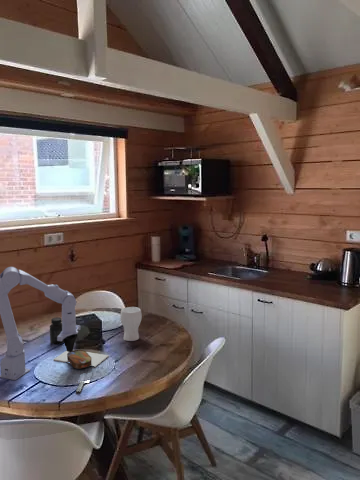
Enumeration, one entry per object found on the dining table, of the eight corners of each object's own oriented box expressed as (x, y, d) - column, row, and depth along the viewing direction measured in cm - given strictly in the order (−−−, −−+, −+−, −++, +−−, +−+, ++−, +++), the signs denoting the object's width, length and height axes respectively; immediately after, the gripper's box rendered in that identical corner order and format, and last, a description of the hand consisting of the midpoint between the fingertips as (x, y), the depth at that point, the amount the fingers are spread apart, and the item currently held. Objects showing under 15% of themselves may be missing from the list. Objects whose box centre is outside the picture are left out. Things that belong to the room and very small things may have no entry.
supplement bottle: (67, 340, 210) (66, 317, 208) (59, 345, 203) (58, 321, 201) (55, 338, 211) (54, 315, 210) (47, 344, 205) (46, 320, 203)
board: (95, 367, 180) (95, 366, 180) (53, 360, 186) (53, 359, 186) (108, 356, 191) (108, 355, 191) (69, 350, 198) (68, 349, 198)
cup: (143, 334, 218) (143, 306, 215) (139, 342, 207) (139, 313, 205) (123, 334, 219) (123, 306, 216) (118, 341, 208) (118, 312, 206)
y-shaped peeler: (84, 393, 158) (84, 391, 158) (71, 393, 158) (71, 391, 158) (93, 373, 175) (93, 371, 175) (81, 373, 175) (81, 371, 175)
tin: (64, 352, 188) (83, 347, 192) (65, 358, 188) (83, 353, 192) (74, 365, 175) (94, 359, 179) (75, 372, 175) (94, 366, 180)
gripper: (67, 327, 172) (68, 359, 174) (86, 316, 186) (86, 346, 188) (52, 325, 174) (53, 356, 176) (72, 315, 188) (73, 344, 190)
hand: (69, 351), depth 182 cm, fingers closed
